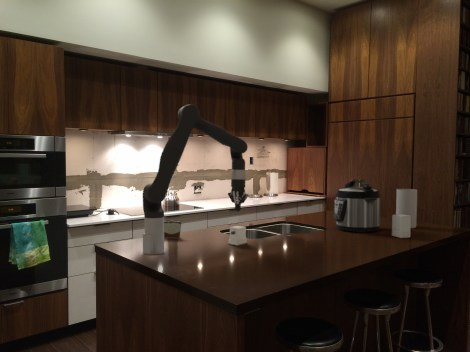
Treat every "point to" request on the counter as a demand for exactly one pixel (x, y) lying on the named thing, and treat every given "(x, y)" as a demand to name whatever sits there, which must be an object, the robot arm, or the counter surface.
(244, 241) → the socket block
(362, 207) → the pressure cooker
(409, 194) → the cylinder vase
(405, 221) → the supplement box
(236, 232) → the plug
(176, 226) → the food container
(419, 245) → the counter surface
